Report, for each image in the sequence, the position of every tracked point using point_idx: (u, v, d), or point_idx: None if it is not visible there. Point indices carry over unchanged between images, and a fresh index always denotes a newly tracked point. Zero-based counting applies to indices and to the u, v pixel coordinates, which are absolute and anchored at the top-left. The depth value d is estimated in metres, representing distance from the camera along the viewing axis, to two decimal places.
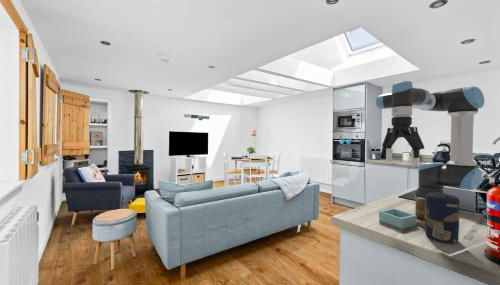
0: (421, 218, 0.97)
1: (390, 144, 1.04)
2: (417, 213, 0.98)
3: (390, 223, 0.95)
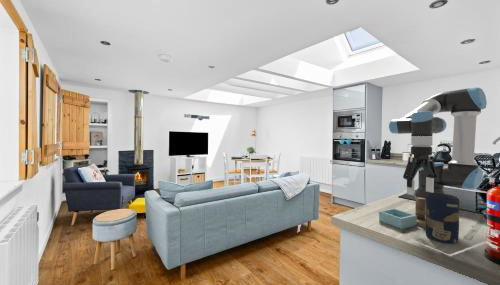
0: (421, 218, 0.97)
1: (428, 173, 1.00)
2: (417, 213, 0.98)
3: (390, 223, 0.95)
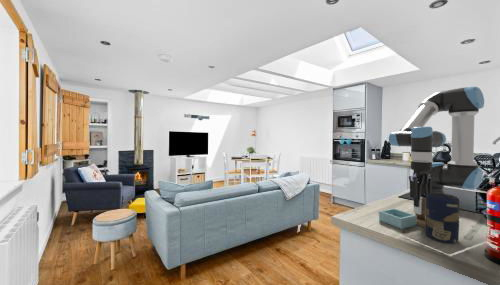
0: (421, 218, 0.97)
1: (422, 191, 0.99)
2: None
3: (390, 223, 0.95)
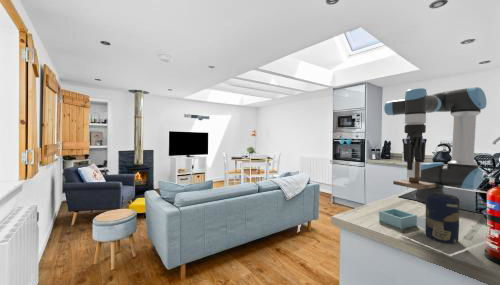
0: (414, 181, 0.95)
1: (416, 155, 0.98)
2: (411, 177, 0.97)
3: (390, 223, 0.95)
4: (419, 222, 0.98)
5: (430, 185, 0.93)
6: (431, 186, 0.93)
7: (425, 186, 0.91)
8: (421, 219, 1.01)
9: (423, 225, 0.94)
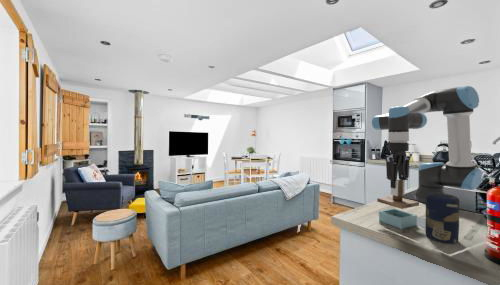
0: (398, 200, 0.95)
1: (400, 173, 0.97)
2: None
3: (390, 223, 0.95)
4: (419, 222, 0.98)
5: (413, 204, 0.92)
6: (414, 205, 0.92)
7: (408, 205, 0.91)
8: (421, 219, 1.01)
9: (423, 225, 0.94)
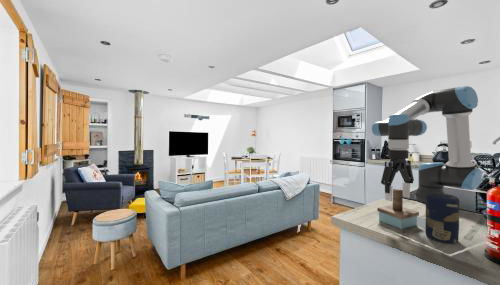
0: (398, 209, 0.95)
1: (404, 178, 0.98)
2: (394, 204, 0.96)
3: (390, 223, 0.95)
4: (419, 222, 0.98)
5: (413, 214, 0.92)
6: (414, 215, 0.93)
7: (408, 215, 0.91)
8: (421, 219, 1.01)
9: (423, 225, 0.94)
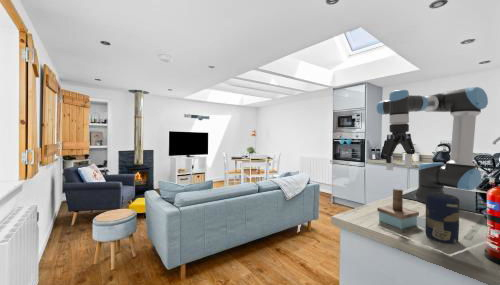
0: (398, 209, 0.95)
1: (406, 150, 1.05)
2: (394, 204, 0.96)
3: (390, 223, 0.95)
4: (419, 222, 0.98)
5: (413, 214, 0.92)
6: (414, 215, 0.93)
7: (408, 215, 0.91)
8: (421, 219, 1.01)
9: (423, 225, 0.94)
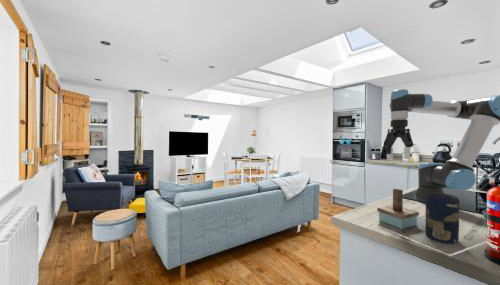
0: (398, 209, 0.95)
1: (405, 143, 1.18)
2: (394, 204, 0.96)
3: (390, 223, 0.95)
4: (419, 222, 0.98)
5: (413, 214, 0.92)
6: (414, 215, 0.93)
7: (408, 215, 0.91)
8: (421, 219, 1.01)
9: (423, 225, 0.94)
